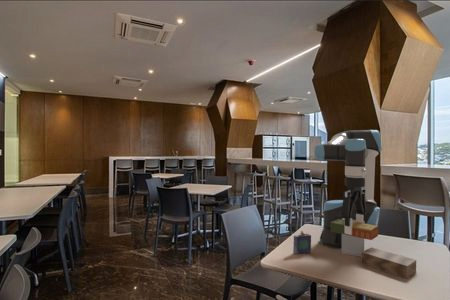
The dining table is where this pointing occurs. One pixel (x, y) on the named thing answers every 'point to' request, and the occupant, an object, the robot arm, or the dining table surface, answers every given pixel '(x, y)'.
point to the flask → (302, 244)
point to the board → (352, 244)
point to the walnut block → (389, 262)
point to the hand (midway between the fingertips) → (354, 231)
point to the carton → (356, 229)
